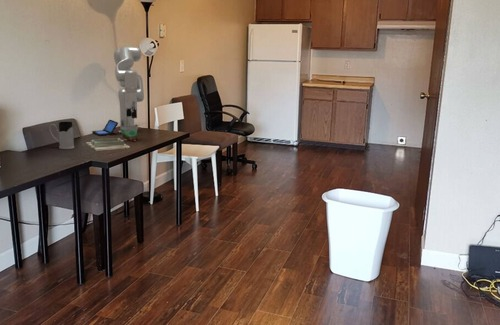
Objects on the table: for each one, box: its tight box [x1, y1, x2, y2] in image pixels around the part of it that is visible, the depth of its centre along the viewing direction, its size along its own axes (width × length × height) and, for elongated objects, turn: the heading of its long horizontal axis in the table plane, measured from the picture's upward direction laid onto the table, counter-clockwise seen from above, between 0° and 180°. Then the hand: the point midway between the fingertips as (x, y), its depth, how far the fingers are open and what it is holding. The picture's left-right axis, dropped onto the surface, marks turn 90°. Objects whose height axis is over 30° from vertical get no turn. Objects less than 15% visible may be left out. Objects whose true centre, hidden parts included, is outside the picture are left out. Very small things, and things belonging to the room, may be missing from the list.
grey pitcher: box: [49, 121, 75, 150], centre depth 273 cm, size 9×14×15 cm, turn 86°
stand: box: [85, 137, 131, 152], centre depth 282 cm, size 22×20×4 cm
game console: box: [91, 119, 119, 137], centre depth 320 cm, size 16×14×9 cm
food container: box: [120, 124, 139, 142], centre depth 300 cm, size 12×6×10 cm, turn 143°
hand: (131, 117), depth 297 cm, fingers open, 9 cm apart
